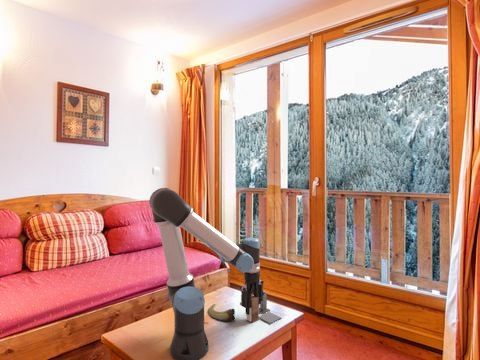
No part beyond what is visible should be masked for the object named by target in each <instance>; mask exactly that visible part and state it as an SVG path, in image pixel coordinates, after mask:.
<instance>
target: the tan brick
mask: <svg viewBox="0 0 480 360" xmlns="http://www.w3.org/2000/svg"><path fill="white" fill-rule="evenodd" d="M240 302H242V294H241V295H240ZM250 307H251V314H252V321H251V323H252V324H253V323H255V322H257V321H259V320H260V319H259V316H260V314H259V313H260V312H259V313H258V297H256V296H254V294H252V296H251V304H250Z"/></svg>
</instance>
